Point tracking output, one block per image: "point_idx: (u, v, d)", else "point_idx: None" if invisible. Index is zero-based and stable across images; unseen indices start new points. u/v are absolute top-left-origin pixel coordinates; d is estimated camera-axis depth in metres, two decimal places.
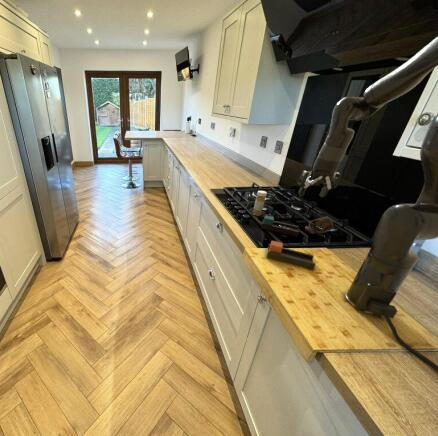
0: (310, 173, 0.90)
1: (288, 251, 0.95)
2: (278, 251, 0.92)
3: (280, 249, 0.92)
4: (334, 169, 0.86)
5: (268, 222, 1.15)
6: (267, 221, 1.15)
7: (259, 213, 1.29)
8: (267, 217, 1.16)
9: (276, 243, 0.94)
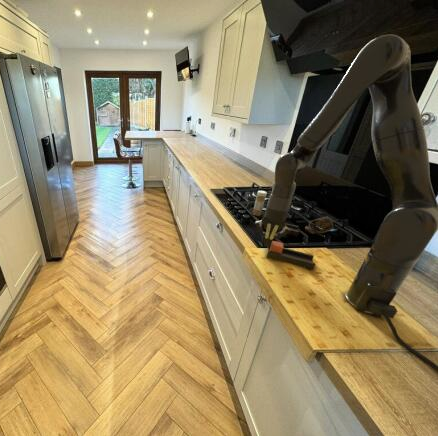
0: (260, 222, 0.93)
1: (288, 251, 0.95)
2: (279, 251, 0.92)
3: (281, 249, 0.92)
4: (278, 218, 0.86)
5: None
6: None
7: (259, 213, 1.29)
8: None
9: (277, 243, 0.94)
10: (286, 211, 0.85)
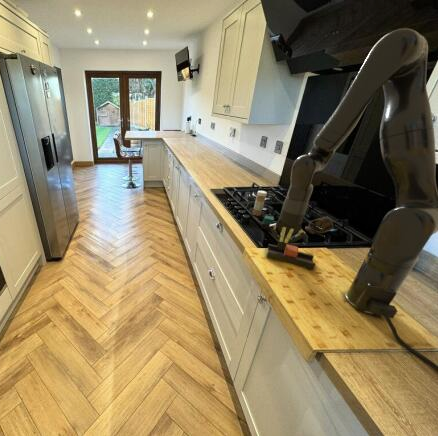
0: (275, 225, 0.91)
1: None
2: (294, 255, 0.90)
3: (296, 253, 0.89)
4: (294, 221, 0.84)
5: (268, 222, 1.15)
6: (267, 221, 1.15)
7: (259, 213, 1.29)
8: (267, 217, 1.16)
9: (291, 247, 0.92)
10: (302, 214, 0.83)
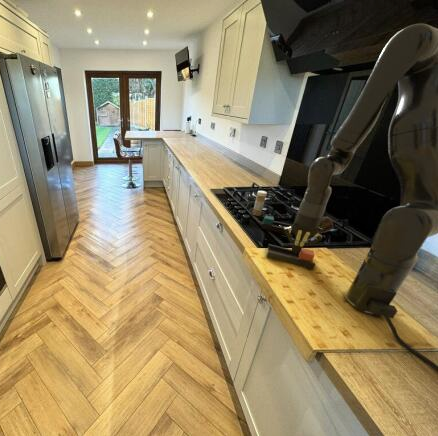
0: (290, 228, 0.89)
1: (288, 251, 0.95)
2: (309, 259, 0.88)
3: (312, 257, 0.87)
4: (311, 225, 0.82)
5: (268, 222, 1.15)
6: (267, 221, 1.15)
7: (259, 213, 1.29)
8: (267, 217, 1.16)
9: (307, 251, 0.89)
10: (320, 217, 0.81)
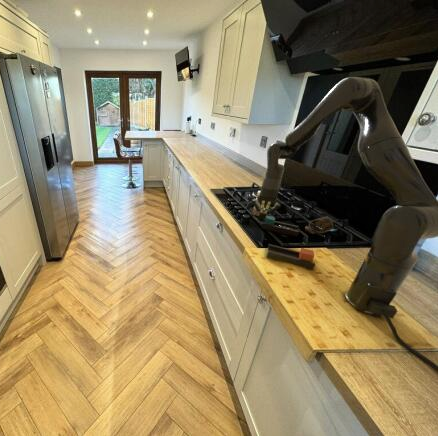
0: (256, 199, 1.15)
1: (288, 251, 0.95)
2: (309, 259, 0.88)
3: (312, 257, 0.87)
4: (270, 195, 1.08)
5: (269, 222, 1.15)
6: (268, 221, 1.15)
7: (259, 213, 1.29)
8: (268, 217, 1.16)
9: (307, 251, 0.89)
10: (277, 189, 1.07)
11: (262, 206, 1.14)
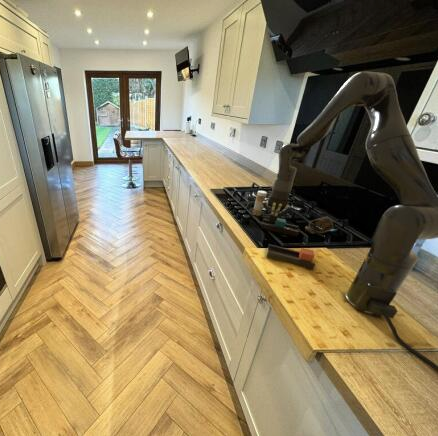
0: (267, 201, 1.13)
1: (288, 251, 0.95)
2: (309, 259, 0.88)
3: (312, 257, 0.87)
4: (282, 197, 1.06)
5: (280, 225, 1.13)
6: (279, 224, 1.13)
7: (259, 213, 1.29)
8: (279, 220, 1.14)
9: (307, 251, 0.89)
10: (288, 191, 1.05)
11: (273, 208, 1.12)
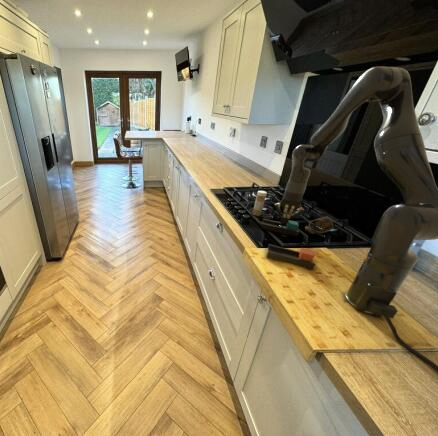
0: (279, 204, 1.11)
1: (288, 251, 0.95)
2: (309, 259, 0.88)
3: (312, 257, 0.87)
4: (295, 200, 1.04)
5: (292, 227, 1.11)
6: (291, 226, 1.11)
7: (259, 213, 1.29)
8: (291, 222, 1.12)
9: (307, 251, 0.89)
10: (302, 194, 1.03)
11: (285, 210, 1.10)
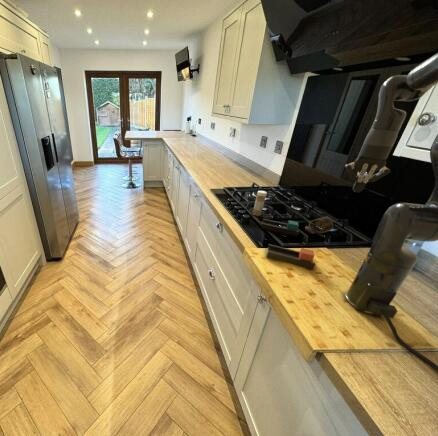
0: (353, 164, 0.85)
1: (288, 251, 0.95)
2: (309, 259, 0.88)
3: (312, 257, 0.87)
4: (381, 155, 0.78)
5: (292, 227, 1.11)
6: (291, 226, 1.11)
7: (259, 213, 1.29)
8: (291, 222, 1.12)
9: (307, 251, 0.89)
10: (391, 146, 0.77)
11: (362, 172, 0.83)
